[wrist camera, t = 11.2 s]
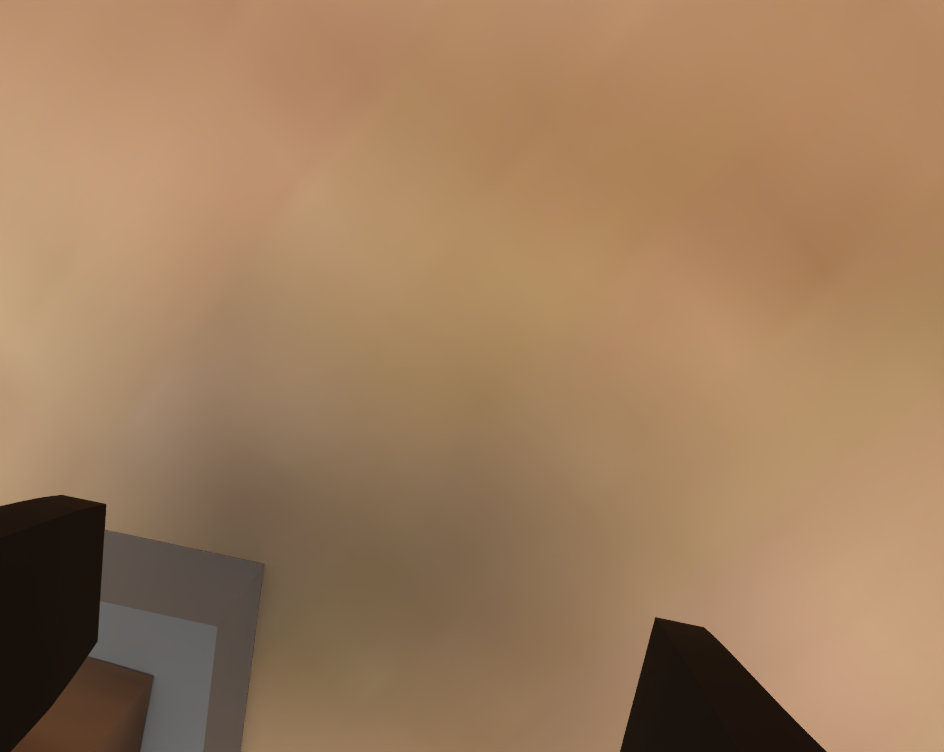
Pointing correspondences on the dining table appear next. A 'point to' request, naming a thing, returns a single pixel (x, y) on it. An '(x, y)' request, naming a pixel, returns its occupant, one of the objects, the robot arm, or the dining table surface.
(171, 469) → the dining table surface
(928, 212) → the dining table surface
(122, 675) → the walnut block
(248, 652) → the pedestal block
